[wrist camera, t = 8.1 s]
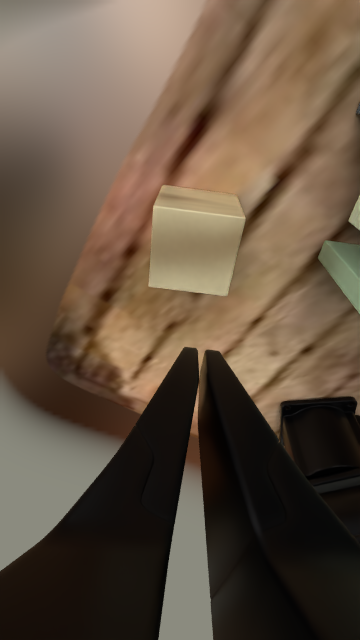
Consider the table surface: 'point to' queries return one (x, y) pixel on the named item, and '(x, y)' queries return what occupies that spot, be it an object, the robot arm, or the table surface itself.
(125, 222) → the table surface
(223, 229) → the block
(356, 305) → the drawer
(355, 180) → the table surface
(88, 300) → the table surface
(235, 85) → the table surface
